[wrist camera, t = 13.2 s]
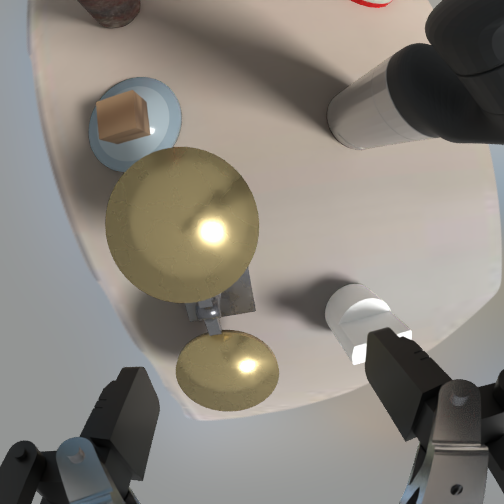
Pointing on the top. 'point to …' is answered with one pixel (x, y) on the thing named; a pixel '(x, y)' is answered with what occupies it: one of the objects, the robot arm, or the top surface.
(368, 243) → the top surface
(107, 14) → the candle
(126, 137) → the walnut block
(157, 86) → the dish
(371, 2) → the kitchen timer
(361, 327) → the cylinder with rectangular tab
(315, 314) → the top surface
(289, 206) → the top surface
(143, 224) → the balance
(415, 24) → the top surface
